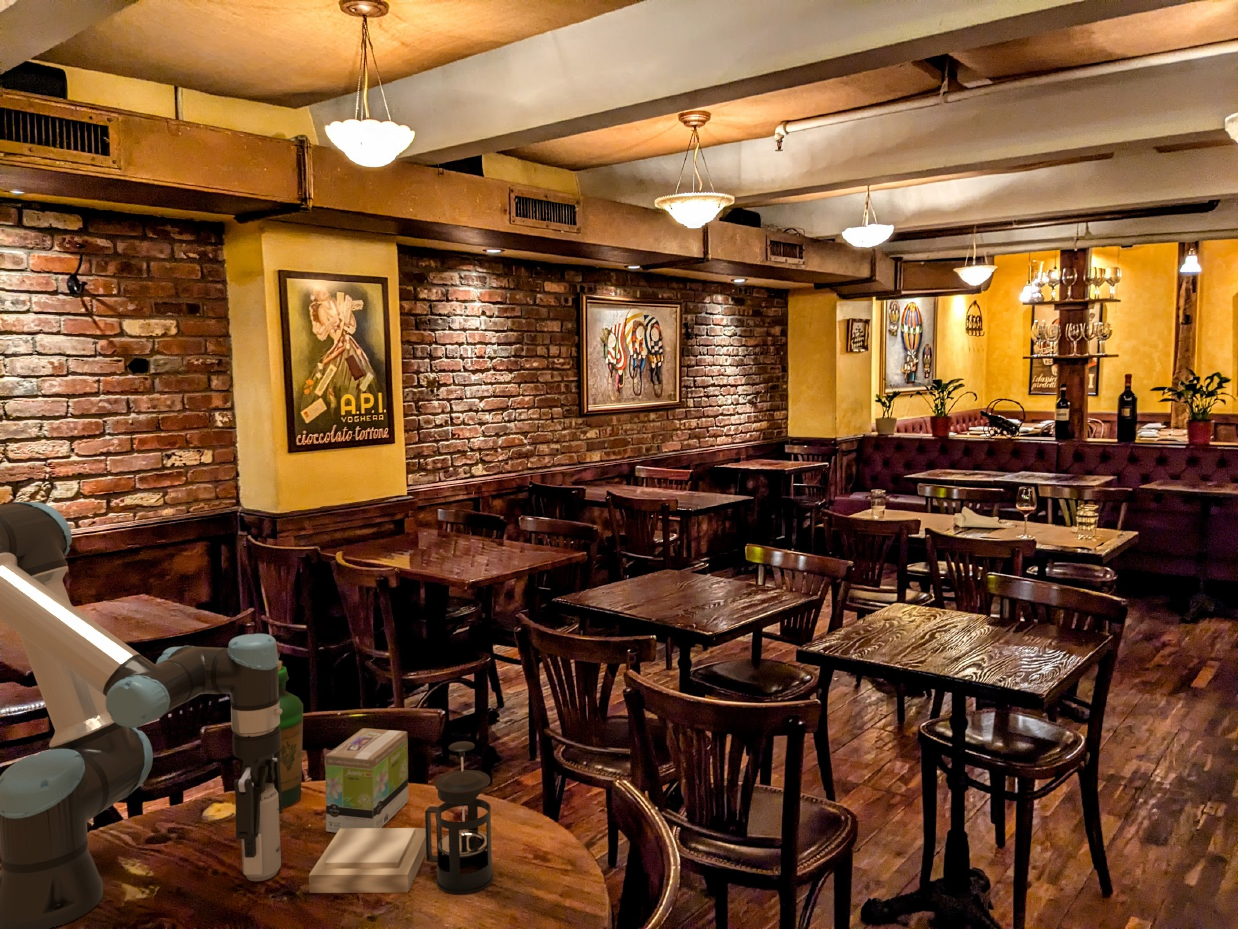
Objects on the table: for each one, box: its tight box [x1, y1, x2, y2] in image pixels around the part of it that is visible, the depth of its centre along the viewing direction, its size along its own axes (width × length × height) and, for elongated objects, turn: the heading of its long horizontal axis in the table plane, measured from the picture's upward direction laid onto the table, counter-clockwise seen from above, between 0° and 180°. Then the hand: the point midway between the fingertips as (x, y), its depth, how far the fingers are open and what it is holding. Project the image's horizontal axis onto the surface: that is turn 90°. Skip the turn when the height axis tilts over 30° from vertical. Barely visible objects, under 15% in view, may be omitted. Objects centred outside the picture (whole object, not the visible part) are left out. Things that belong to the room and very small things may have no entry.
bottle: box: [278, 660, 304, 808], centre depth 183 cm, size 11×11×28 cm
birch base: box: [308, 827, 426, 894], centre depth 157 cm, size 16×16×4 cm
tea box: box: [324, 727, 409, 834], centre depth 176 cm, size 15×10×15 cm, turn 168°
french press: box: [424, 740, 495, 896], centre depth 152 cm, size 12×9×23 cm
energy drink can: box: [240, 783, 282, 882], centre depth 155 cm, size 6×6×15 cm
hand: (261, 862), depth 155 cm, fingers closed on energy drink can, 6 cm apart
